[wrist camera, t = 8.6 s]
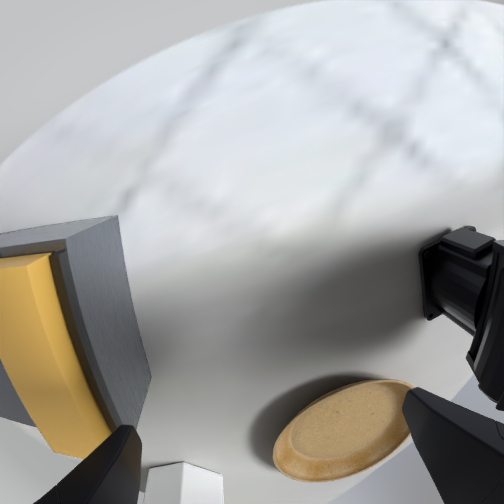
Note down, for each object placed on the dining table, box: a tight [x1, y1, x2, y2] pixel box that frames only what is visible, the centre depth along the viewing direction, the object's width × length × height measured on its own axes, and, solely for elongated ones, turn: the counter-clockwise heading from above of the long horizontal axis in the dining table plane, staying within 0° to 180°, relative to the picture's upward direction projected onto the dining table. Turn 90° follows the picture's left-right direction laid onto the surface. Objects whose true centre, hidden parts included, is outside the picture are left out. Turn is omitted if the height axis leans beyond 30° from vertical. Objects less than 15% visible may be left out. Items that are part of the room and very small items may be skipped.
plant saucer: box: [272, 379, 415, 482], centre depth 23 cm, size 15×15×3 cm
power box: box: [0, 215, 151, 433], centre depth 15 cm, size 13×12×8 cm
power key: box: [0, 253, 112, 459], centre depth 11 cm, size 4×11×2 cm, turn 4°
